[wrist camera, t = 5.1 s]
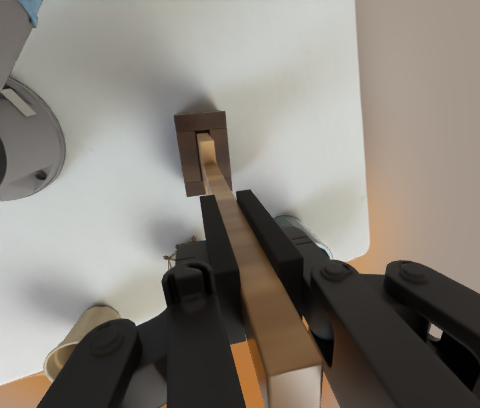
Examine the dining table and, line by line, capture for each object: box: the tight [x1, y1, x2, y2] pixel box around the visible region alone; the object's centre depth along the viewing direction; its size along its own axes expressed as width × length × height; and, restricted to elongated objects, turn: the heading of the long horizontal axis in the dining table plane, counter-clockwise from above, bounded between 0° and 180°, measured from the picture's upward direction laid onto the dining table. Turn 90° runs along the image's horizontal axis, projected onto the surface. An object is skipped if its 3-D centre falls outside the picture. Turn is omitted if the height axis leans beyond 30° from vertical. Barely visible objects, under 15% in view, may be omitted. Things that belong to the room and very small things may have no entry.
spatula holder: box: [174, 111, 232, 197], centre depth 34 cm, size 10×6×6 cm, turn 5°
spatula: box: [197, 133, 324, 408], centre depth 17 cm, size 6×1×26 cm, turn 5°
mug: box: [274, 216, 333, 259], centre depth 41 cm, size 12×9×10 cm
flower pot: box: [43, 306, 120, 382], centre depth 39 cm, size 9×9×9 cm
